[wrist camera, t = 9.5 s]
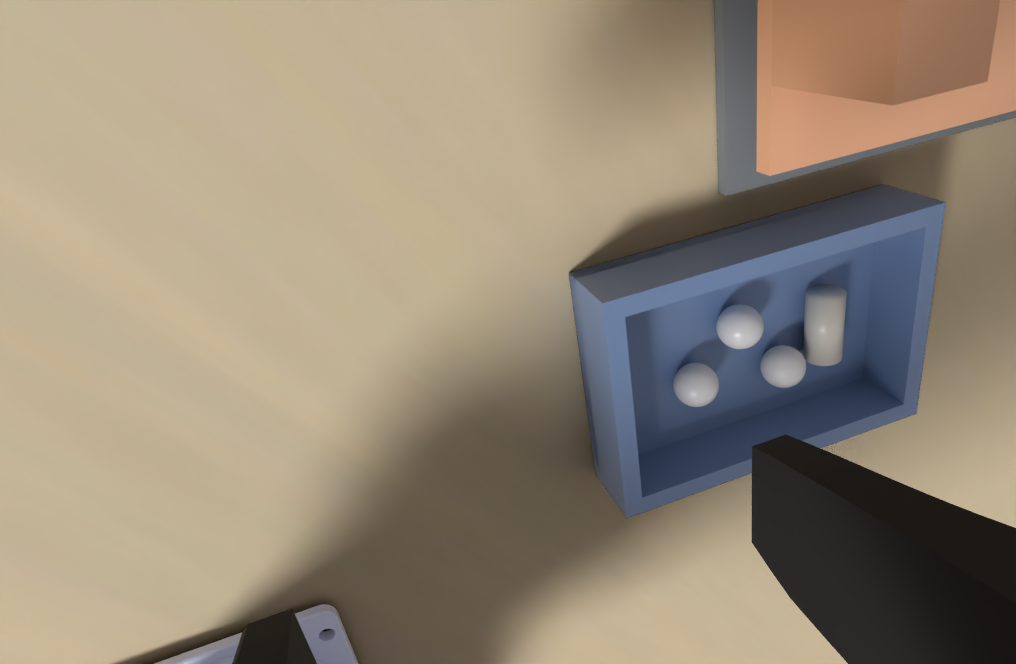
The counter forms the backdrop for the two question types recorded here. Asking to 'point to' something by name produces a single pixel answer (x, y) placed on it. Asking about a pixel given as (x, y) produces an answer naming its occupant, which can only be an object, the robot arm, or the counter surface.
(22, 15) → the counter surface
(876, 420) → the blue box
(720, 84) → the mat
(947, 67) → the lid
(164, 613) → the counter surface
